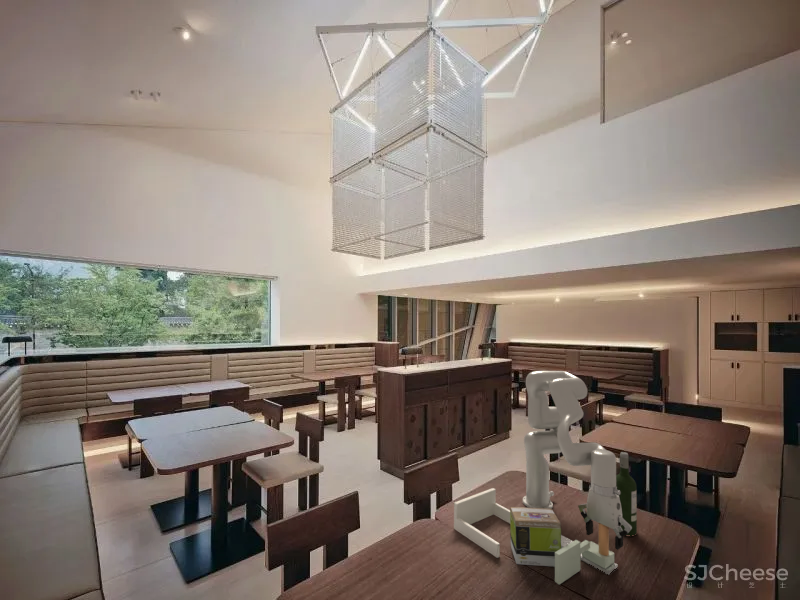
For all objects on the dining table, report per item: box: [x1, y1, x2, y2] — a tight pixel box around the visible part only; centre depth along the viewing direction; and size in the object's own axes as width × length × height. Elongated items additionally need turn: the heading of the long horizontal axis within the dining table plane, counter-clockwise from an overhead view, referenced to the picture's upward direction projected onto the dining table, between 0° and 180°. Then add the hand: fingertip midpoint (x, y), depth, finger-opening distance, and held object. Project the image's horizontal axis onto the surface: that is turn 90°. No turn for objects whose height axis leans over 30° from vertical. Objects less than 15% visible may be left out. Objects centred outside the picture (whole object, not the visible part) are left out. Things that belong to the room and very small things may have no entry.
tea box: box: [509, 506, 562, 568], centre depth 132 cm, size 15×10×15 cm, turn 84°
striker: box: [554, 523, 615, 586], centre depth 124 cm, size 24×8×14 cm, turn 125°
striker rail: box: [561, 534, 619, 576], centre depth 141 cm, size 6×40×1 cm, turn 35°
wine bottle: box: [616, 451, 638, 536], centre depth 149 cm, size 8×8×30 cm
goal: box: [453, 487, 510, 559], centre depth 146 cm, size 22×22×10 cm
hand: (603, 540), depth 128 cm, fingers open, 9 cm apart
